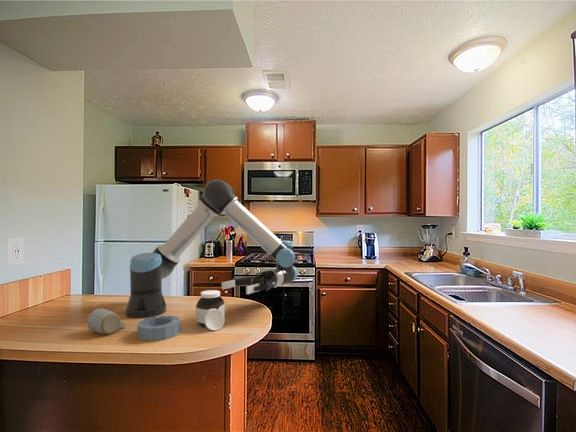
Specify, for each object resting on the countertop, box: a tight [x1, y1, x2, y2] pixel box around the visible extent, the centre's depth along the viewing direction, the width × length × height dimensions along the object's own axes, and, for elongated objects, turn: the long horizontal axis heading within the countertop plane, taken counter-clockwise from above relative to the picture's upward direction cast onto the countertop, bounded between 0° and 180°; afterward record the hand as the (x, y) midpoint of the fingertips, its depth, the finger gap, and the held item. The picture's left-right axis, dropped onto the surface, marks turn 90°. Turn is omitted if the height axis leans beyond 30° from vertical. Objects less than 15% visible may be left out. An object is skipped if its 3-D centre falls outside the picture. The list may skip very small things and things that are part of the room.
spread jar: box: [195, 289, 226, 331], centre depth 119 cm, size 12×11×12 cm
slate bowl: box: [136, 315, 181, 342], centre depth 111 cm, size 13×13×4 cm
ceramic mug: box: [86, 307, 126, 335], centre depth 114 cm, size 11×8×8 cm
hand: (234, 288), depth 127 cm, fingers open, 13 cm apart
